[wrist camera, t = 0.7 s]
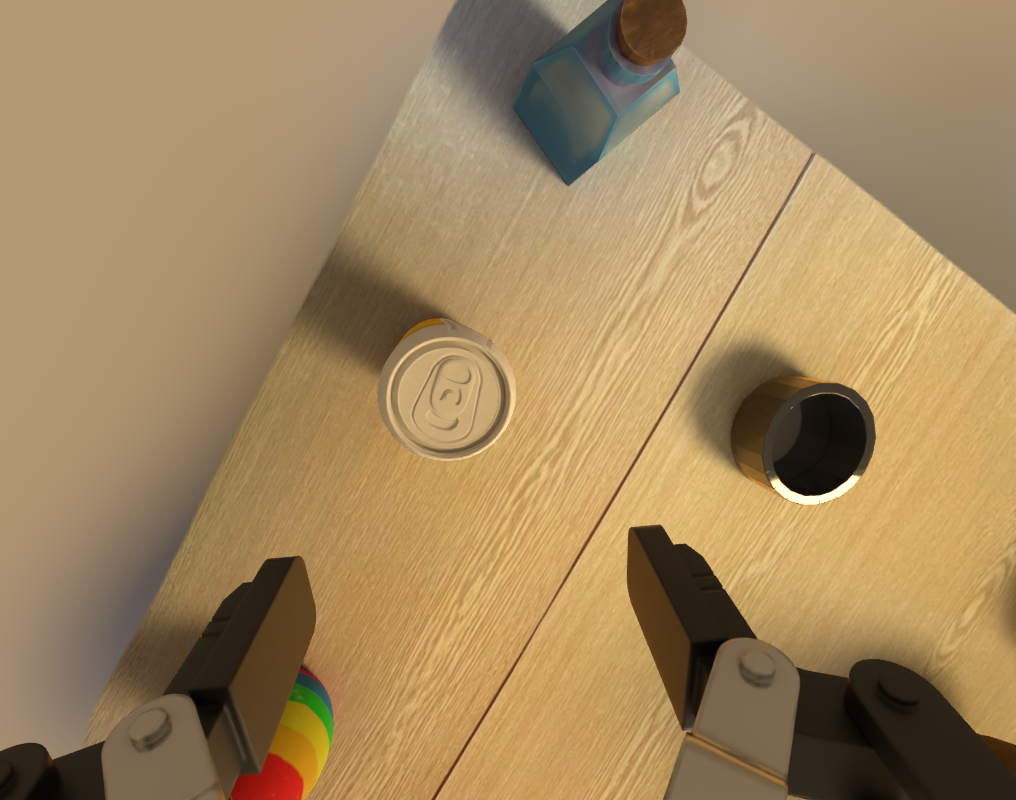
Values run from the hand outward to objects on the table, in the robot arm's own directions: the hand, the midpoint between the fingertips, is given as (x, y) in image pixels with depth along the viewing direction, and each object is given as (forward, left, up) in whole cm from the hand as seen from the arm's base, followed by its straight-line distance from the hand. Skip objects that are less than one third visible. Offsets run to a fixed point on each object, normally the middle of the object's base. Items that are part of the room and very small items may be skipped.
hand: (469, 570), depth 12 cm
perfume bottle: (+2, +21, -25) cm, 33 cm away
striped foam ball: (-4, -26, -25) cm, 36 cm away
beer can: (-1, +2, -25) cm, 25 cm away
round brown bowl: (+27, +6, -24) cm, 37 cm away
